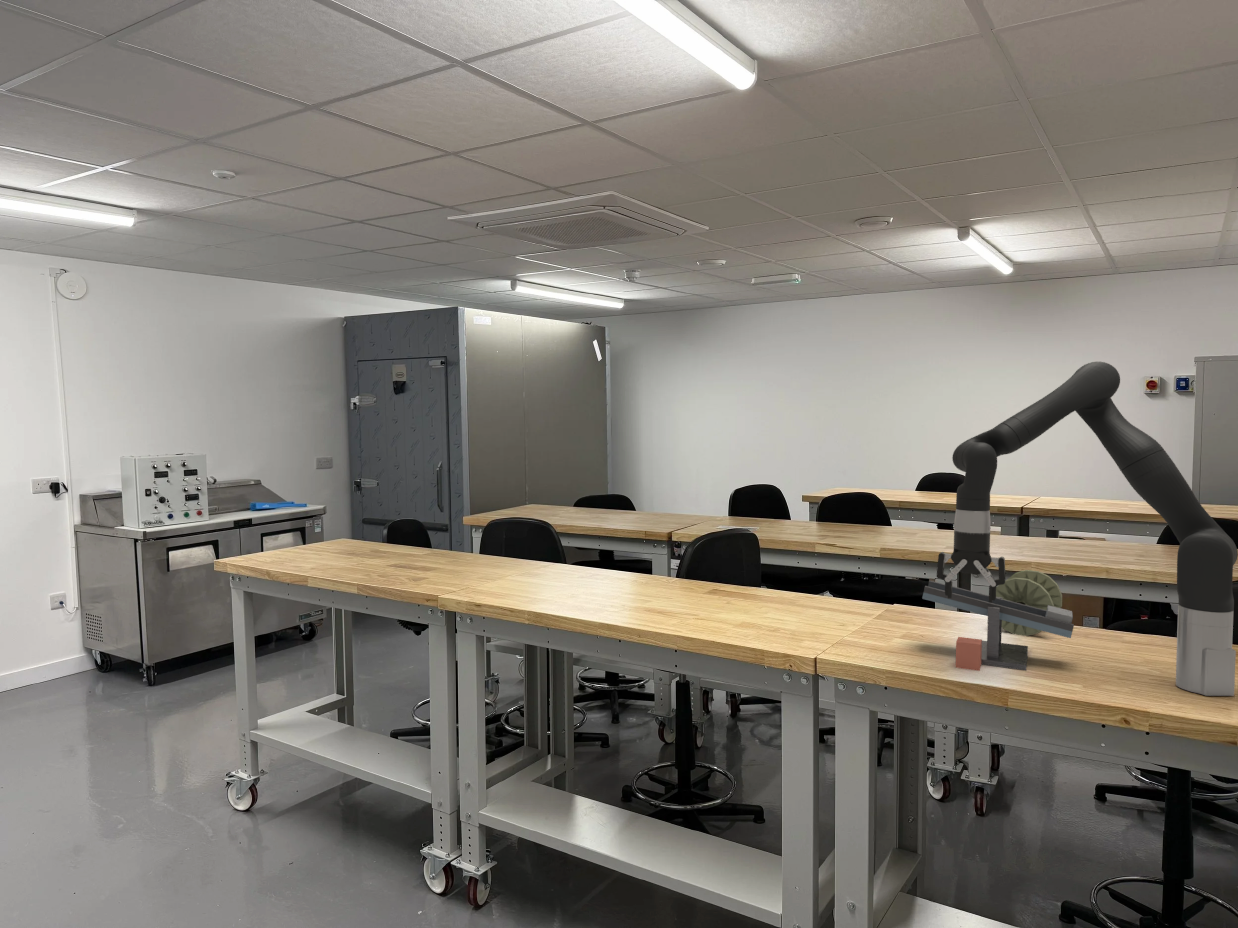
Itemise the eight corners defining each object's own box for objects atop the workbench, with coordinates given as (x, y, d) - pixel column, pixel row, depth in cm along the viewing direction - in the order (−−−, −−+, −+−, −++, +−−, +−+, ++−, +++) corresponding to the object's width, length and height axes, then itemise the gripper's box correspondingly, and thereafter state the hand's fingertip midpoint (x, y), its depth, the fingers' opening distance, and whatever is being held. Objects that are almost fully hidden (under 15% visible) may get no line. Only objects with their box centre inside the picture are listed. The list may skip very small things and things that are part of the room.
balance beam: (1069, 628, 183) (1074, 609, 182) (1070, 639, 173) (1075, 619, 172) (927, 591, 198) (931, 574, 197) (921, 599, 188) (925, 581, 187)
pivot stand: (1027, 650, 190) (1029, 598, 190) (1026, 670, 174) (1027, 613, 174) (965, 643, 197) (966, 592, 196) (958, 661, 181) (960, 606, 181)
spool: (1051, 639, 201) (1053, 582, 200) (989, 630, 210) (990, 575, 209) (1061, 627, 214) (1062, 573, 213) (1002, 619, 223) (1003, 567, 223)
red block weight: (981, 665, 178) (982, 639, 178) (979, 670, 174) (980, 644, 174) (957, 661, 181) (958, 636, 181) (955, 667, 176) (956, 641, 176)
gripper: (1007, 530, 176) (1005, 600, 177) (940, 525, 183) (938, 593, 184) (1006, 533, 170) (1003, 606, 170) (936, 529, 177) (934, 599, 177)
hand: (969, 599), depth 177 cm, fingers open, 8 cm apart
